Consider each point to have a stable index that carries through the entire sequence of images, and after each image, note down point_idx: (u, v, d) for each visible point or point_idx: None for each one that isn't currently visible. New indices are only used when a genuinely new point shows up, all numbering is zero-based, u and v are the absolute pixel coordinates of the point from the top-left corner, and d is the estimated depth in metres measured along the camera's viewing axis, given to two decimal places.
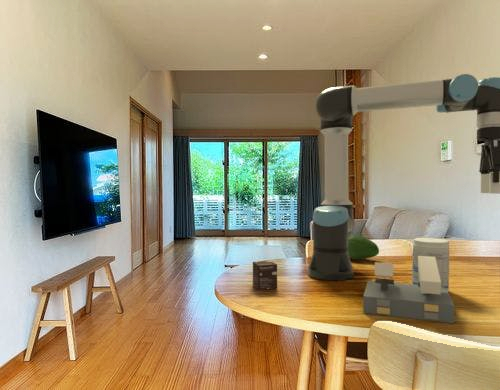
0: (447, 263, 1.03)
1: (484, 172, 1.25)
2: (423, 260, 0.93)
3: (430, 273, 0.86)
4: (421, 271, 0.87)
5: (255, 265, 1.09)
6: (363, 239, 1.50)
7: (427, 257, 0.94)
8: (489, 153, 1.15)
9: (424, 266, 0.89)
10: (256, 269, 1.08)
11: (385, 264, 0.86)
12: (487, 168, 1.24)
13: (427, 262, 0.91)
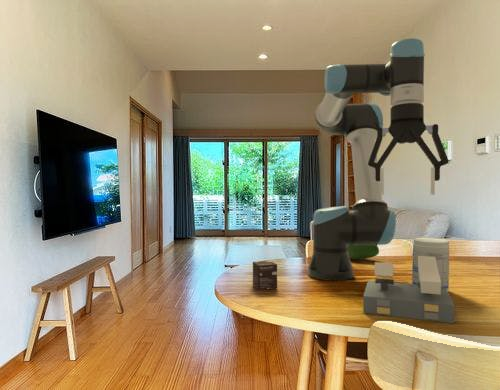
0: (447, 263, 1.03)
1: (433, 165, 0.88)
2: (423, 260, 0.93)
3: (430, 273, 0.86)
4: (421, 271, 0.87)
5: (255, 265, 1.09)
6: None
7: (427, 257, 0.94)
8: None
9: (424, 266, 0.89)
10: (256, 269, 1.08)
11: (385, 264, 0.86)
12: (429, 159, 0.88)
13: (427, 262, 0.91)
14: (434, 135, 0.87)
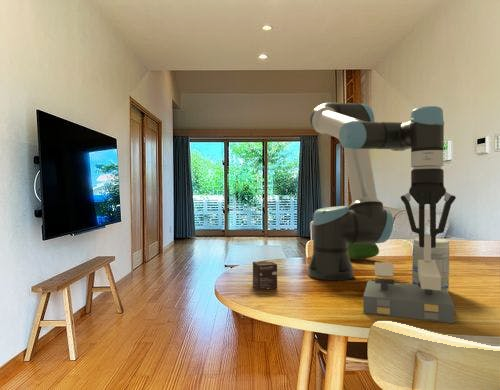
0: (447, 263, 1.03)
1: (430, 231, 0.94)
2: (423, 262, 0.93)
3: (429, 271, 0.86)
4: (421, 269, 0.88)
5: (255, 265, 1.09)
6: None
7: None
8: None
9: (424, 266, 0.90)
10: (256, 269, 1.08)
11: (385, 264, 0.86)
12: (430, 224, 0.94)
13: (427, 263, 0.92)
14: (447, 204, 0.91)
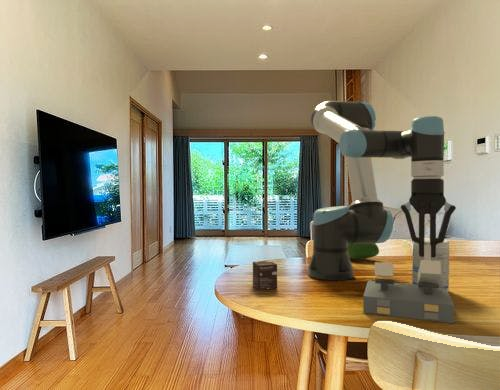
0: (447, 263, 1.03)
1: (430, 240, 0.94)
2: None
3: None
4: None
5: (255, 265, 1.09)
6: None
7: None
8: None
9: None
10: (256, 269, 1.08)
11: (385, 264, 0.86)
12: (430, 234, 0.94)
13: None
14: (447, 214, 0.92)
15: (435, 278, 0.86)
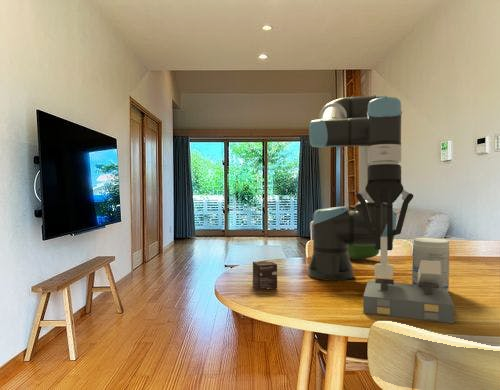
0: (447, 263, 1.03)
1: None
2: None
3: None
4: None
5: (255, 265, 1.09)
6: None
7: None
8: None
9: None
10: (256, 269, 1.08)
11: (384, 266, 0.86)
12: (387, 225, 0.86)
13: None
14: (404, 203, 0.84)
15: (435, 278, 0.86)
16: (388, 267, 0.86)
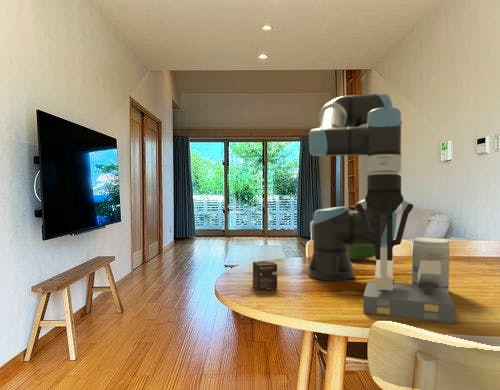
0: (447, 263, 1.03)
1: None
2: None
3: None
4: None
5: (255, 265, 1.09)
6: None
7: None
8: None
9: None
10: (256, 269, 1.08)
11: (384, 279, 0.86)
12: (387, 235, 0.86)
13: None
14: (404, 213, 0.84)
15: (435, 278, 0.86)
16: (388, 280, 0.86)
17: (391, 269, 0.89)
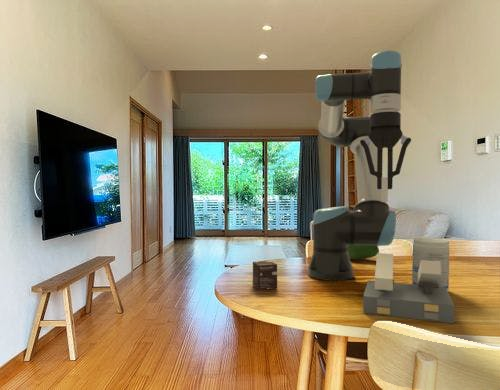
0: (447, 263, 1.03)
1: None
2: None
3: None
4: None
5: (255, 265, 1.09)
6: None
7: None
8: None
9: None
10: (256, 269, 1.08)
11: (384, 279, 0.86)
12: None
13: None
14: (403, 146, 0.95)
15: (435, 278, 0.86)
16: (388, 280, 0.86)
17: (391, 270, 0.89)
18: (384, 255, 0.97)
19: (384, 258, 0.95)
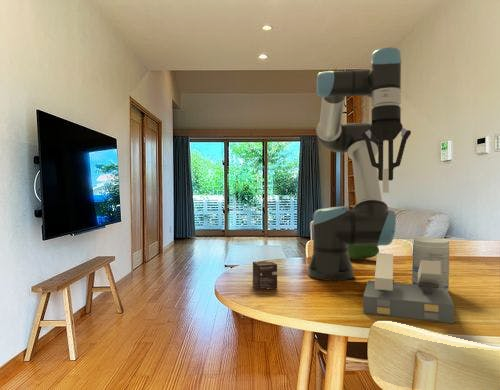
0: (447, 263, 1.03)
1: None
2: None
3: None
4: None
5: (255, 265, 1.09)
6: None
7: None
8: None
9: None
10: (256, 269, 1.08)
11: (384, 279, 0.86)
12: (388, 159, 1.00)
13: None
14: (403, 138, 0.98)
15: (435, 278, 0.86)
16: (388, 280, 0.86)
17: (391, 270, 0.89)
18: (384, 255, 0.97)
19: (384, 258, 0.95)
